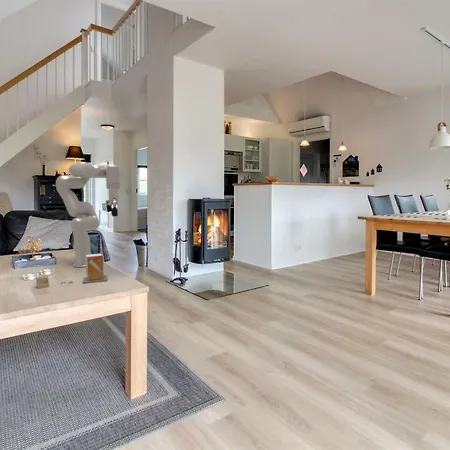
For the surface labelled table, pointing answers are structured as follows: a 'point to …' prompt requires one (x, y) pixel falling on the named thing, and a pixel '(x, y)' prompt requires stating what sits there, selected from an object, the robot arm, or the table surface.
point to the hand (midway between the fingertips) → (114, 215)
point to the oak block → (42, 281)
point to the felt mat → (94, 280)
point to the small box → (94, 266)
